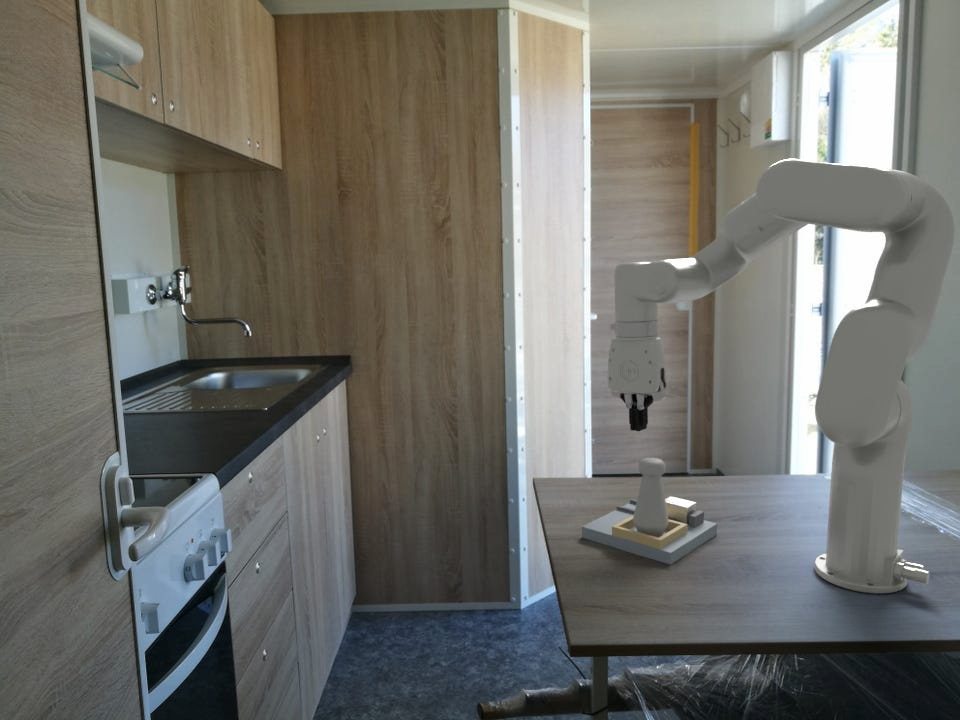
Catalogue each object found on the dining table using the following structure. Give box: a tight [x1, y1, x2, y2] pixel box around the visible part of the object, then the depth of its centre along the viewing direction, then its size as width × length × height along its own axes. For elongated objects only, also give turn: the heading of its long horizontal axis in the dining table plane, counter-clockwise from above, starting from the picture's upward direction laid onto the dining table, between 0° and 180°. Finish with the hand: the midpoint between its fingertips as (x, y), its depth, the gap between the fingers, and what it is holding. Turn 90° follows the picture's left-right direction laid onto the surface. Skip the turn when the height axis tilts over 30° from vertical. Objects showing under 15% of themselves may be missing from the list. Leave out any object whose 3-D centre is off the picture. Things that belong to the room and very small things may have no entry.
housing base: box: [581, 498, 718, 565], centre depth 130 cm, size 17×16×4 cm
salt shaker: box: [633, 457, 669, 538], centre depth 125 cm, size 6×6×13 cm
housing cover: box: [665, 496, 697, 524], centre depth 132 cm, size 5×3×3 cm
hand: (638, 429), depth 138 cm, fingers closed
